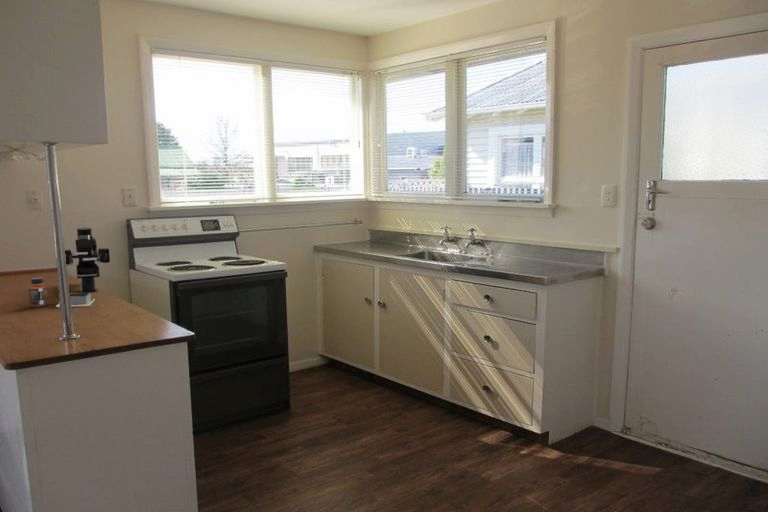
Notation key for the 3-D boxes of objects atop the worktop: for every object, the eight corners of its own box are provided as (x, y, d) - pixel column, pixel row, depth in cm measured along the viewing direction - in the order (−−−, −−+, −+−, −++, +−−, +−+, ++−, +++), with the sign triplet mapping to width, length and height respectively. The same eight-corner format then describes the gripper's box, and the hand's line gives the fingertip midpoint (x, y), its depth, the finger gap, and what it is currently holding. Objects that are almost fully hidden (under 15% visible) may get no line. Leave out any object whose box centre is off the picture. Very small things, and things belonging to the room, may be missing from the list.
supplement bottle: (46, 307, 242) (44, 278, 241) (29, 308, 240) (27, 279, 238) (47, 304, 248) (45, 276, 246) (30, 305, 245) (28, 277, 244)
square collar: (62, 301, 253) (62, 293, 252) (94, 300, 256) (94, 291, 255) (55, 307, 241) (55, 298, 241) (89, 305, 244) (88, 296, 244)
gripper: (59, 235, 260) (57, 242, 246) (108, 233, 268) (108, 240, 254) (61, 260, 263) (59, 269, 249) (109, 258, 270) (110, 266, 256)
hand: (84, 260), depth 252 cm, fingers open, 9 cm apart
